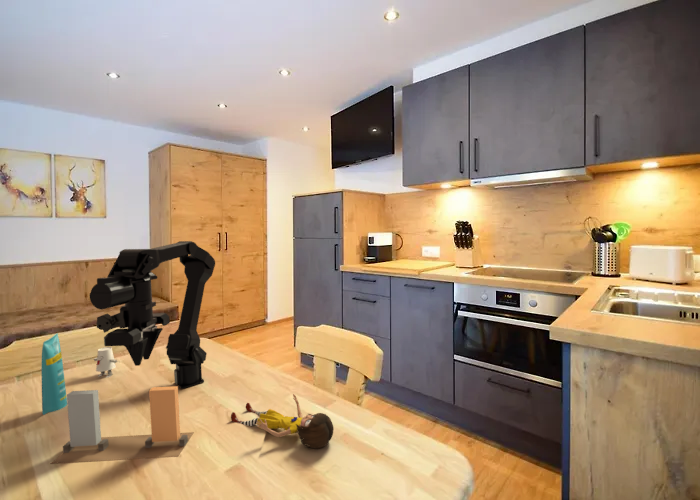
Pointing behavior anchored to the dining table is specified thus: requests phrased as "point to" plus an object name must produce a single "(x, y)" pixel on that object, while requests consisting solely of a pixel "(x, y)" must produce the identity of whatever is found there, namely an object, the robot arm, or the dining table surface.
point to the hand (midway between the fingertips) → (142, 362)
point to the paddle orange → (164, 413)
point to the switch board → (123, 449)
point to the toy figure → (105, 361)
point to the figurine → (293, 425)
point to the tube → (52, 376)
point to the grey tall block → (84, 418)
